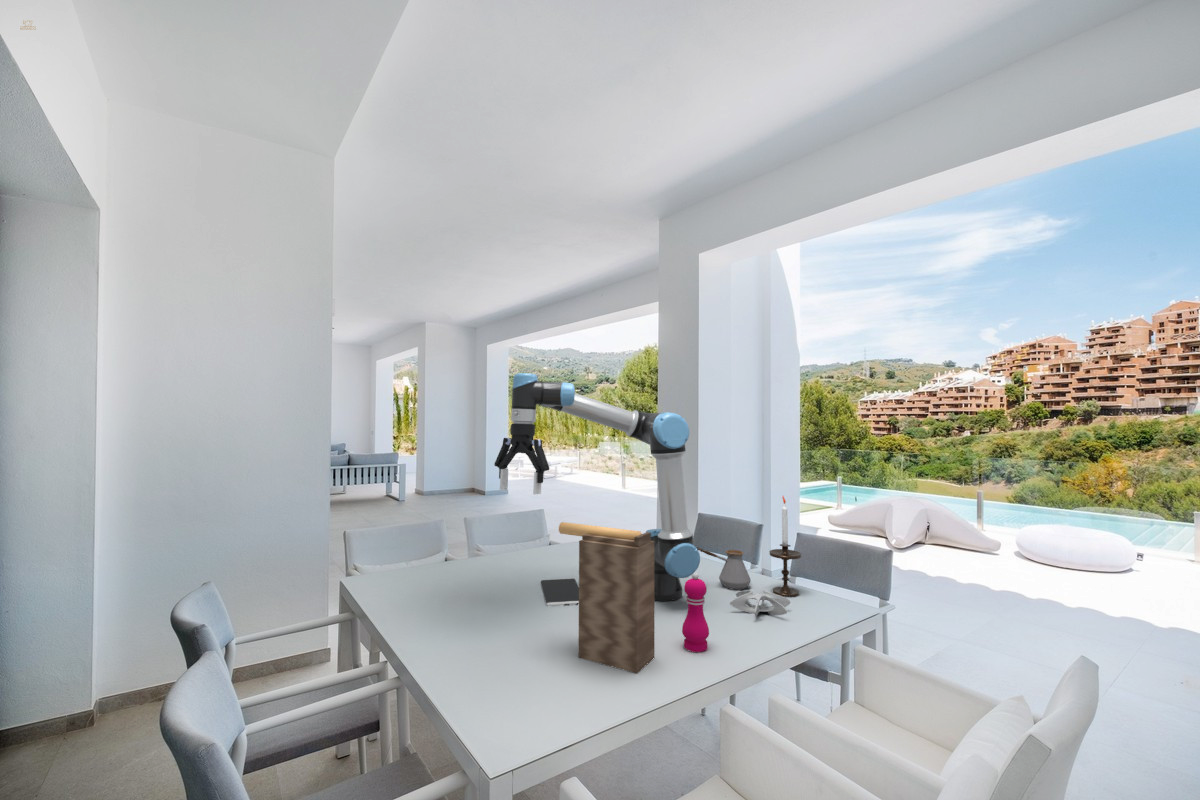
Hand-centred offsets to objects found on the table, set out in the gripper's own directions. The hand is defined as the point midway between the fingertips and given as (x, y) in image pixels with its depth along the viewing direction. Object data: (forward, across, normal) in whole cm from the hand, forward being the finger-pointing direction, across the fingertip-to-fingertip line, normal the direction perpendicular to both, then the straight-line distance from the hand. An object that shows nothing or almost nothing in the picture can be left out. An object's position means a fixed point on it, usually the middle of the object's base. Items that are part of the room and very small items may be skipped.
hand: (519, 491), depth 163 cm
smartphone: (+40, -5, +31) cm, 51 cm away
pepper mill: (+38, +53, +13) cm, 67 cm away
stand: (+39, +38, -4) cm, 55 cm away
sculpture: (+37, +60, +51) cm, 87 cm away
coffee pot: (+37, +41, +69) cm, 89 cm away
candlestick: (+36, +63, +75) cm, 104 cm away
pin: (+9, +32, -5) cm, 34 cm away
